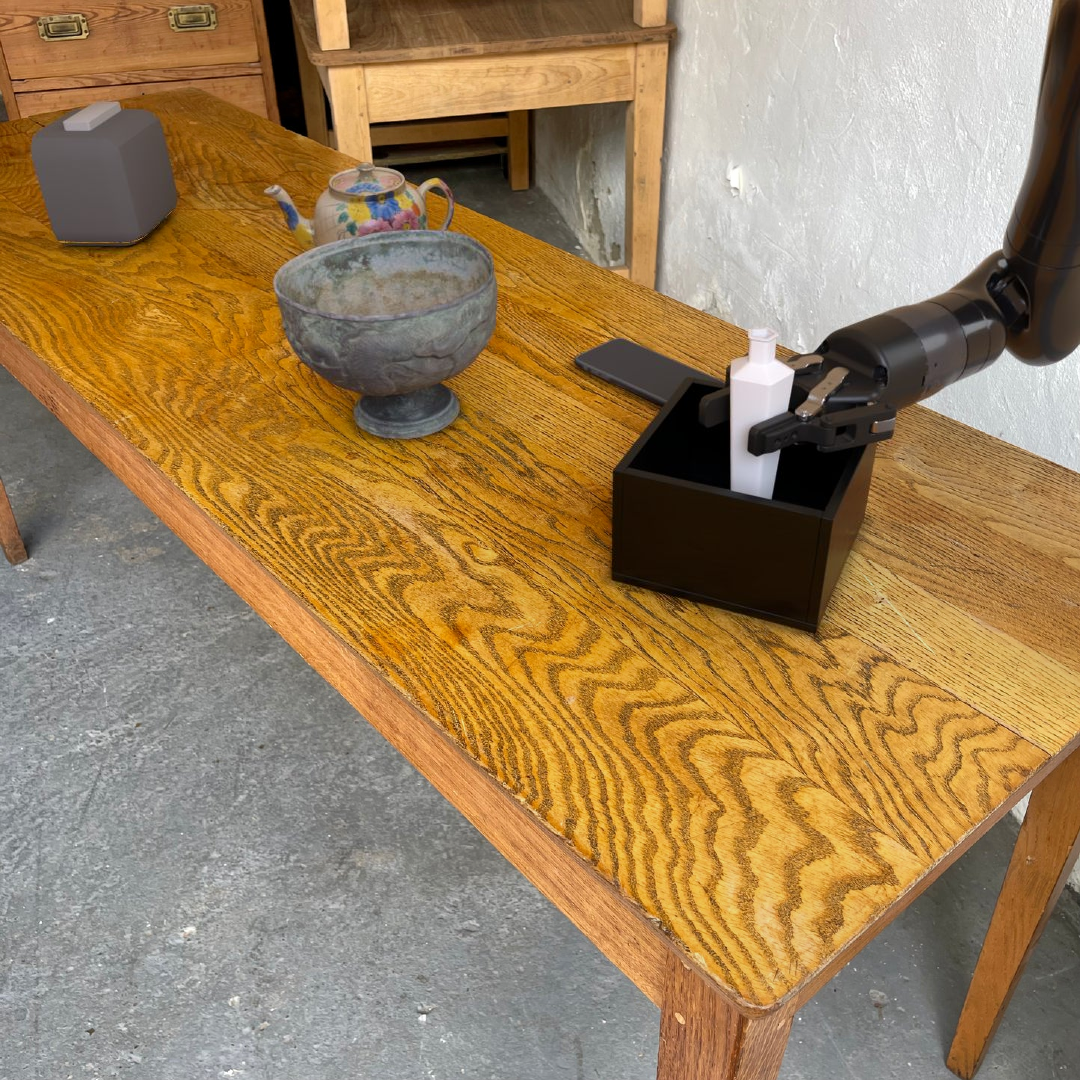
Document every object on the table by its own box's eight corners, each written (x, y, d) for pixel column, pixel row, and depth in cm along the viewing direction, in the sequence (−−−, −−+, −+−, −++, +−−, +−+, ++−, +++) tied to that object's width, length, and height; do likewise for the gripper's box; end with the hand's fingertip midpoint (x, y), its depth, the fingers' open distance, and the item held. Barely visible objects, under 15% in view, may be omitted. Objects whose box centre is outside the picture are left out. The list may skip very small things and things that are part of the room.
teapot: (409, 239, 144) (399, 134, 136) (470, 268, 135) (463, 158, 127) (271, 279, 134) (252, 169, 126) (327, 313, 125) (310, 197, 117)
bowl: (291, 383, 111) (266, 239, 103) (479, 357, 115) (469, 215, 106) (307, 484, 96) (279, 324, 87) (524, 450, 99) (517, 293, 91)
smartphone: (682, 409, 103) (569, 357, 112) (681, 418, 103) (569, 366, 112) (732, 383, 107) (619, 334, 116) (731, 391, 108) (619, 342, 116)
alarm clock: (111, 209, 157) (81, 94, 148) (188, 210, 156) (163, 94, 146) (59, 252, 143) (23, 128, 134) (142, 253, 142) (112, 128, 133)
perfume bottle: (741, 491, 87) (754, 313, 78) (787, 512, 84) (806, 330, 76) (704, 515, 84) (713, 334, 76) (751, 537, 82) (766, 353, 73)
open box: (864, 519, 89) (882, 412, 83) (815, 634, 78) (833, 519, 72) (681, 478, 95) (686, 376, 89) (610, 580, 84) (612, 470, 78)
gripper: (828, 287, 88) (663, 345, 81) (977, 348, 79) (805, 421, 71) (818, 371, 93) (660, 434, 85) (958, 439, 83) (793, 517, 75)
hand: (727, 428), depth 78 cm, fingers closed on perfume bottle, 4 cm apart
